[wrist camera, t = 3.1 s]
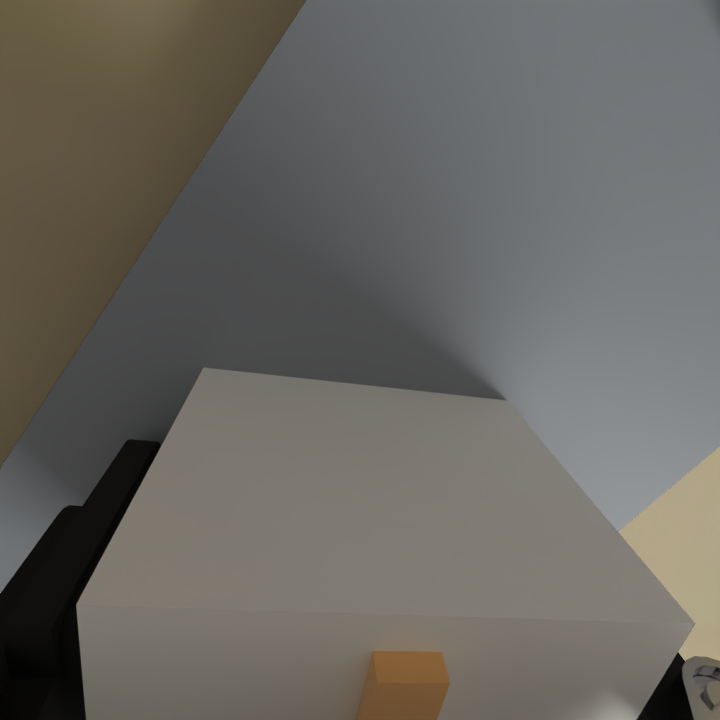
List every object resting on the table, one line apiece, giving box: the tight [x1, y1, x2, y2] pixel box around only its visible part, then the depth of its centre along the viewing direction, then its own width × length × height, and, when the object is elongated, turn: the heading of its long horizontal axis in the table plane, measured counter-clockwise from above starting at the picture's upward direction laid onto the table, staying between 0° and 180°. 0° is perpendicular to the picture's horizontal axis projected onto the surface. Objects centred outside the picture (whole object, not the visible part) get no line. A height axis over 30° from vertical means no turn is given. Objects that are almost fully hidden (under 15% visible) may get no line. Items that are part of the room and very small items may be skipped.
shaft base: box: [0, 0, 720, 592], centre depth 8 cm, size 24×12×5 cm, turn 141°
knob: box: [76, 368, 695, 720], centre depth 8 cm, size 6×6×5 cm
